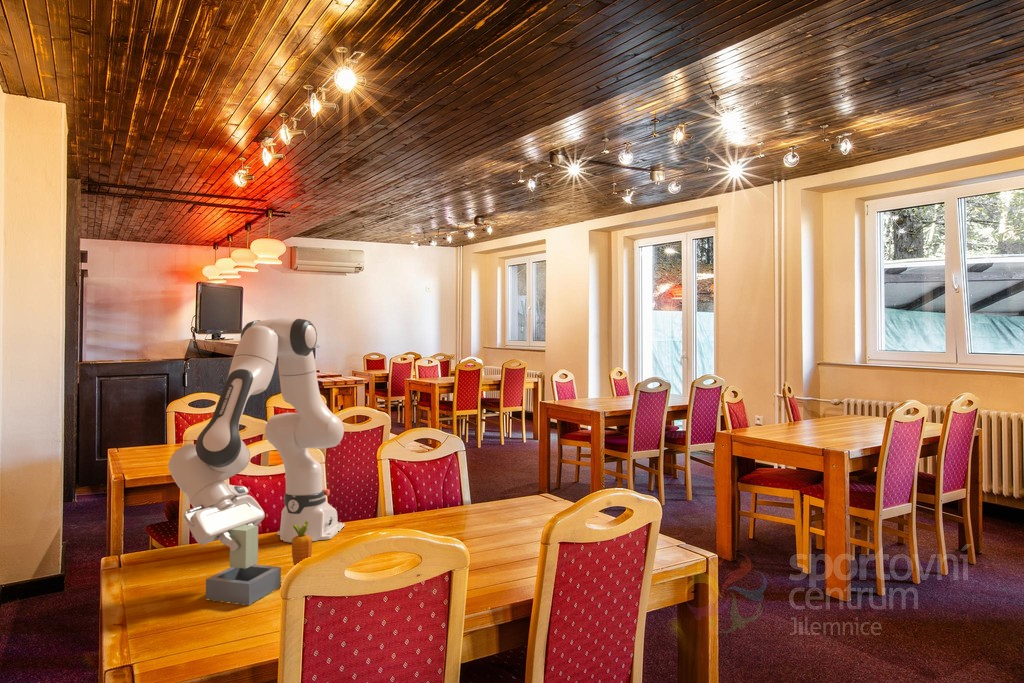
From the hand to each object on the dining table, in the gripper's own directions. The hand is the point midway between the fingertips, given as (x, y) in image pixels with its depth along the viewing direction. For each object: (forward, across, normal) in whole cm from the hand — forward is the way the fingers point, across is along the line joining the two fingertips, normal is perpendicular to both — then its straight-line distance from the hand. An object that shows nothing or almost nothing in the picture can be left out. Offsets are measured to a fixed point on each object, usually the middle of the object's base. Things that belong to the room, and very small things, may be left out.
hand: (246, 545), depth 156 cm
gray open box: (+8, 0, +9) cm, 12 cm away
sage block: (+3, 0, +4) cm, 5 cm away
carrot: (+13, +13, +4) cm, 19 cm away
